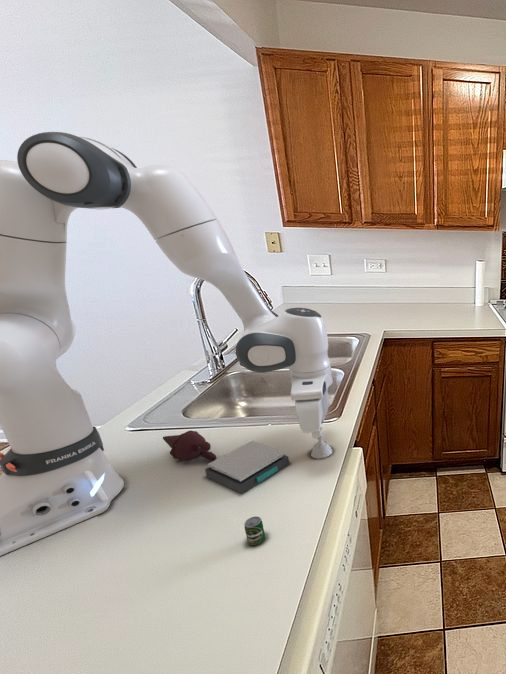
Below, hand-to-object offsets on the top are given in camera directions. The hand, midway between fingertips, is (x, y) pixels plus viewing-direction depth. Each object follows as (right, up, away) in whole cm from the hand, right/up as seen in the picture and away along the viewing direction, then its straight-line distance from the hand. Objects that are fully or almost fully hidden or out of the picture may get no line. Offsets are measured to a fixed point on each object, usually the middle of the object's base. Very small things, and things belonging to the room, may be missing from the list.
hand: (318, 429), depth 96 cm
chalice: (0, -6, +2) cm, 7 cm away
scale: (-14, -9, -5) cm, 17 cm away
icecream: (-31, -7, -1) cm, 31 cm away
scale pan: (-14, -6, -6) cm, 16 cm away
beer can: (-2, -16, -24) cm, 29 cm away
